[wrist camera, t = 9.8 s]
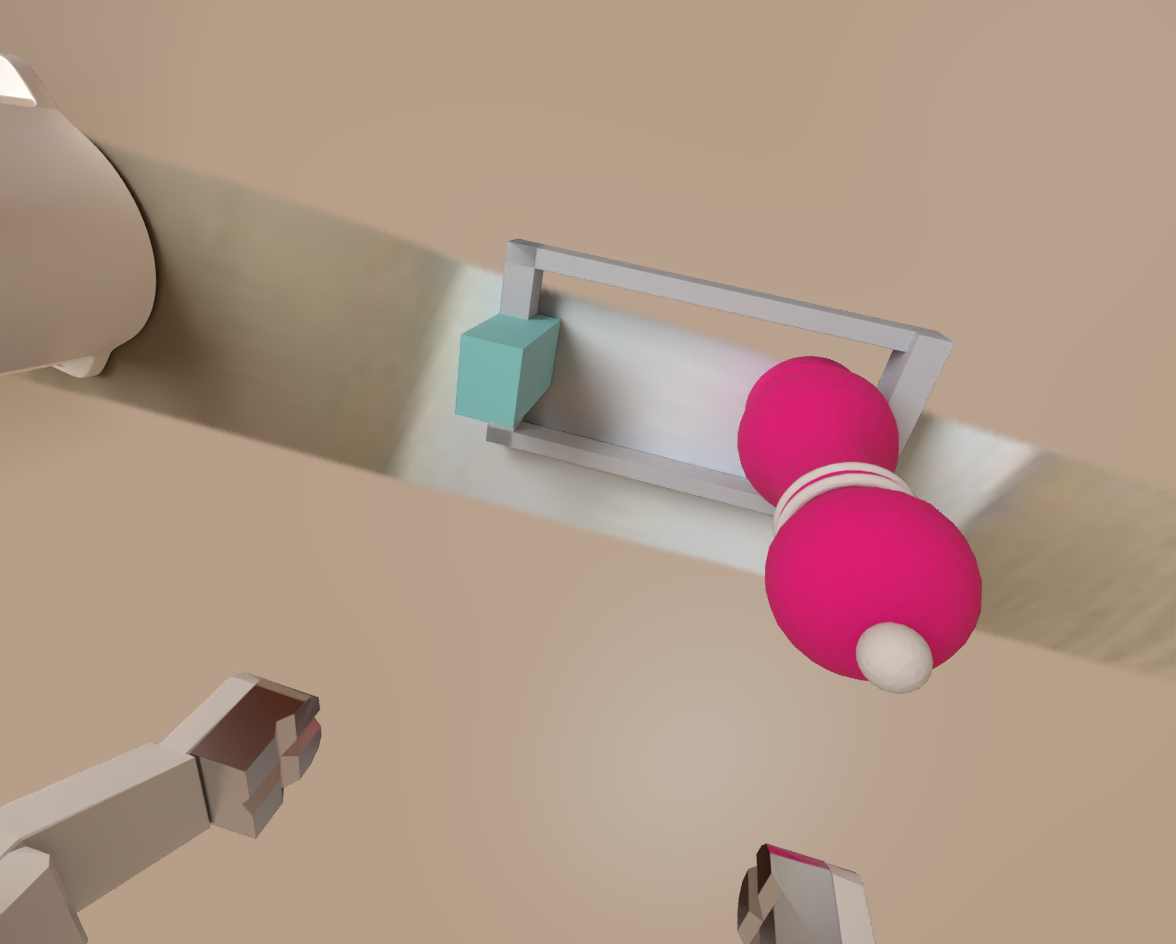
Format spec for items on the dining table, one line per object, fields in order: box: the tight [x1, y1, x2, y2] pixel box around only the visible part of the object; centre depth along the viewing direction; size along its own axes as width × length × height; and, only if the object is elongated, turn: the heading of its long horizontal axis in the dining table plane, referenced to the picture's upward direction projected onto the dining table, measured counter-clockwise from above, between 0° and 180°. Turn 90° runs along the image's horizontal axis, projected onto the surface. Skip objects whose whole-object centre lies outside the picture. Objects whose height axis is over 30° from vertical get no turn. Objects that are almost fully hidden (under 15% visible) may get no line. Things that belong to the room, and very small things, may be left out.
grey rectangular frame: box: [455, 239, 955, 516], centre depth 29 cm, size 22×11×7 cm, turn 80°
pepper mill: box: [738, 356, 982, 694], centre depth 23 cm, size 7×7×20 cm
